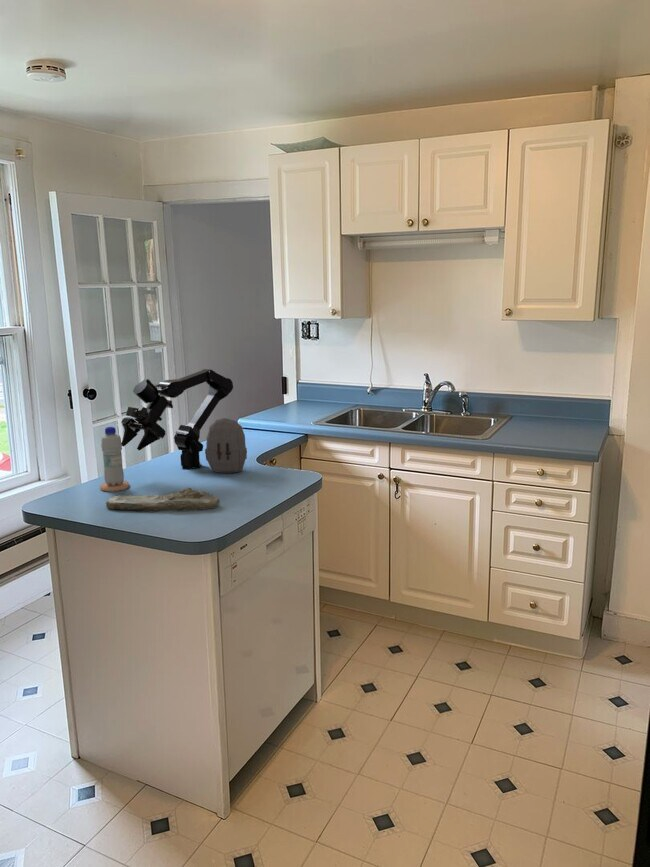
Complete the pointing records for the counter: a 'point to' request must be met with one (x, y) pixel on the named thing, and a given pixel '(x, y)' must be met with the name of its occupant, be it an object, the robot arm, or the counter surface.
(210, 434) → the soft grey pack
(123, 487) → the peach round piece
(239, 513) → the counter surface
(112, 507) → the long grey stone
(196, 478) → the counter surface
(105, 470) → the bottle
